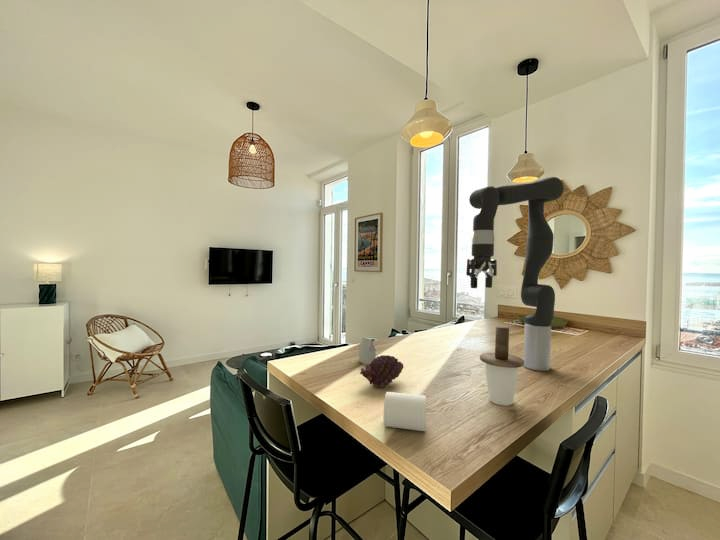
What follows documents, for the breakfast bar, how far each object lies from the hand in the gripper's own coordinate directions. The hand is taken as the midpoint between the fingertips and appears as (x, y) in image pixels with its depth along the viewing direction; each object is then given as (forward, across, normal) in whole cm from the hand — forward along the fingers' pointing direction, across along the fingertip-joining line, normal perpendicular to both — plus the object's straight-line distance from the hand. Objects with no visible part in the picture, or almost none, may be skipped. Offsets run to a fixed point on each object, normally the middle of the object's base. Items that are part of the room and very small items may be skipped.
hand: (481, 287), depth 114 cm
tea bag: (+32, -28, +32) cm, 53 cm away
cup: (+32, -13, -17) cm, 39 cm away
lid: (+20, -13, -17) cm, 29 cm away
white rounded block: (+32, -46, -12) cm, 58 cm away
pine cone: (+32, -36, +10) cm, 49 cm away
